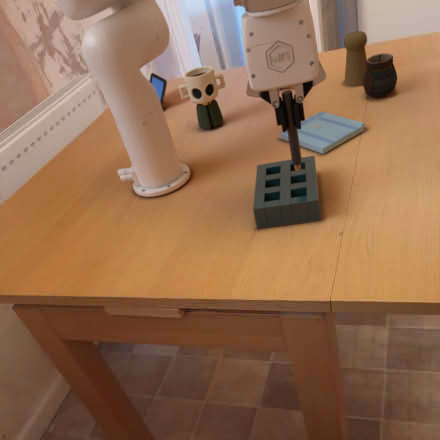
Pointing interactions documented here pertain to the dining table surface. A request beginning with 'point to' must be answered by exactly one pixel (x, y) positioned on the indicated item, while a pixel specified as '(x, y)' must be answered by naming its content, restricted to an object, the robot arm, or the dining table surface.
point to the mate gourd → (379, 76)
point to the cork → (355, 58)
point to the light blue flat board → (326, 131)
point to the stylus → (292, 129)
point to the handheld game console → (159, 86)
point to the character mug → (204, 94)
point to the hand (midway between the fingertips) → (291, 126)
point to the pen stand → (286, 193)
